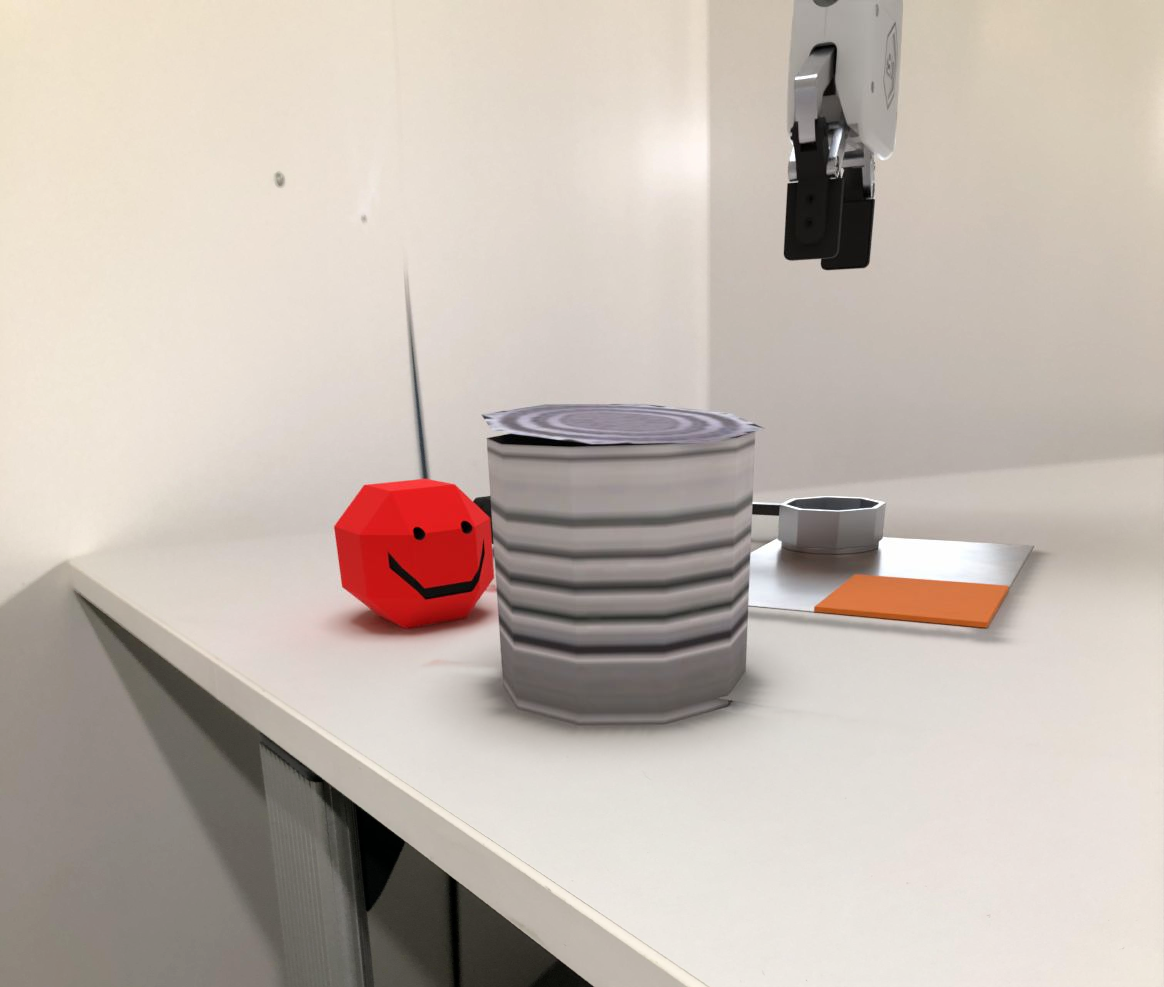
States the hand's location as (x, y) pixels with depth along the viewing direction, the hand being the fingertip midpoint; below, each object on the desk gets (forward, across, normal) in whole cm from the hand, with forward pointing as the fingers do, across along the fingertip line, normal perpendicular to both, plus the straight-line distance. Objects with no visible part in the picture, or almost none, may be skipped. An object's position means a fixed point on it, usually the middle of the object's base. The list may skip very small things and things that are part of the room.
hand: (828, 264), depth 61 cm
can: (+19, -30, +1) cm, 36 cm away
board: (+19, -5, -5) cm, 20 cm away
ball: (+19, -23, +18) cm, 35 cm away
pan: (+18, +3, +2) cm, 19 cm away
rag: (+18, -13, -9) cm, 24 cm away
